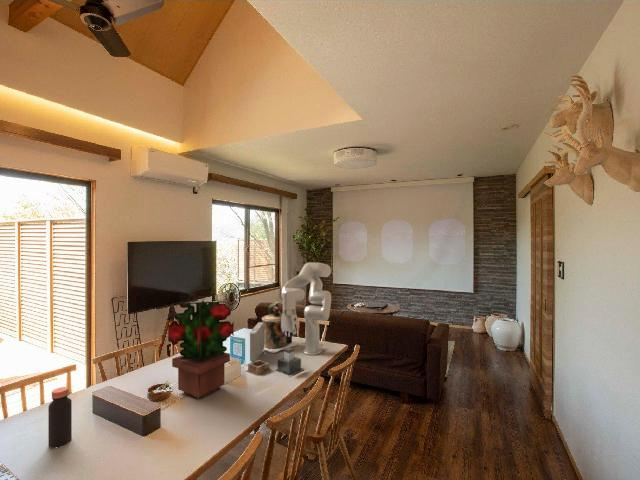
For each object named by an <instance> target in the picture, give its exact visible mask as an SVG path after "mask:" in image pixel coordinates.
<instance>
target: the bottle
mask: <svg viewBox="0 0 640 480" xmlns="http://www.w3.org/2000/svg"><path fill="white" fill-rule="evenodd" d="M68 396H69V387H68V386H61V387H57V388H55V389H53V390H52V391H51V400H52V401H51V402H50V403H49V404H48V409H47V411H48V413H47V414H48V417H47V418H48V427H47V428H48V433H47V434H48V437H47V438H48V443H47V444H48V445H47V446H48V447H49V448H50V449H55V448H56V447H57V448H61V447H63V446H66V445H67V444H68V442H69V443H70V442H71V440H72V434H73V433H72V431H73V430H72V428H73V427H72V426H73V425H72V424H73V423H72V422H73V421H72V413H73V412H72V411H73V409H72V407H73V406H72V404H73V403H72V399H71V398H70V397H68ZM60 446H61V447H60ZM57 448H56V449H57Z"/></svg>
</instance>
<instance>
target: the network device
mask: <svg viewBox="0 0 640 480" xmlns="http://www.w3.org/2000/svg"><path fill="white" fill-rule="evenodd" d="M263 349H264V322H263V321H261V322H260V321H258V322H257V324H255V326H254V327H253V328H252V329H251V331H249V362H255V361H257V360H259V358H260V356H261V355H262V354H264V355H266V354H267V351H264V350H263Z"/></svg>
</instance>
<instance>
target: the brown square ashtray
mask: <svg viewBox="0 0 640 480" xmlns="http://www.w3.org/2000/svg"><path fill="white" fill-rule="evenodd" d="M270 371H272V368H270V363H269V362H267V361H264V360H261V359H258V360H257V361H251V362H250V363H248V364H247V370H245V372H246V373H249V374H251V375H253V376H256V377H259V376H261V375H264V374H266V373H268V372H270Z"/></svg>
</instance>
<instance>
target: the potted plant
mask: <svg viewBox="0 0 640 480" xmlns="http://www.w3.org/2000/svg"><path fill="white" fill-rule="evenodd" d="M204 300H205V298H203V300H202V301H200V302H198V301H197V302H179V307H180V308H182V309H184V311H183V312H179V313H176V314H175V316H174V317H175V318H176V319H177V320H179V322H178V321H176V320H173V321H171V323H170V324H168V327H167V329H168V330H167V334H168V336H167V341H168V342H170V343H171V344H172V345H173V346H175V345H177V344H178V343H179V342H180V344H179V347H180V348H181V350H180V351H179V354H180V355H179V356H176V357H173V358H171V362H172V364H171V367H172V368H176V369H177V374H178V375H177V384H178V386H177V387H178V388H177V390H179V391H181V392H183V393H184V394H186V395H188V396H192V397H194V398H197V399H199V400H200V399H203V398H205V397H206V396H208V395H209V394H212V393H214V392H215V391H218V390H219V389H220V387H223V386H224V385H225V364H227V363H229V362H230V361H231V353H228V352H226V351H227V350H228V348H227V347H226V346H224V342H226V341H227V339H228V338H230V337H231V335H232V336H233V337H234V336H235V335H234V330H235V329H234V327H235V325H234V321H233V322H232V323H231V322H230V321H228V320H227V321H226V319H227V318H228V317H230V316H231V313H232V308H231V307H229V306H228V305H227V304H226V303H225V302H226V300H224V301H223V300H221V301H204ZM194 304H195V305H196V306H194ZM185 308H186V309H185ZM195 308H196V310H195ZM191 318H192V319H191Z"/></svg>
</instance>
